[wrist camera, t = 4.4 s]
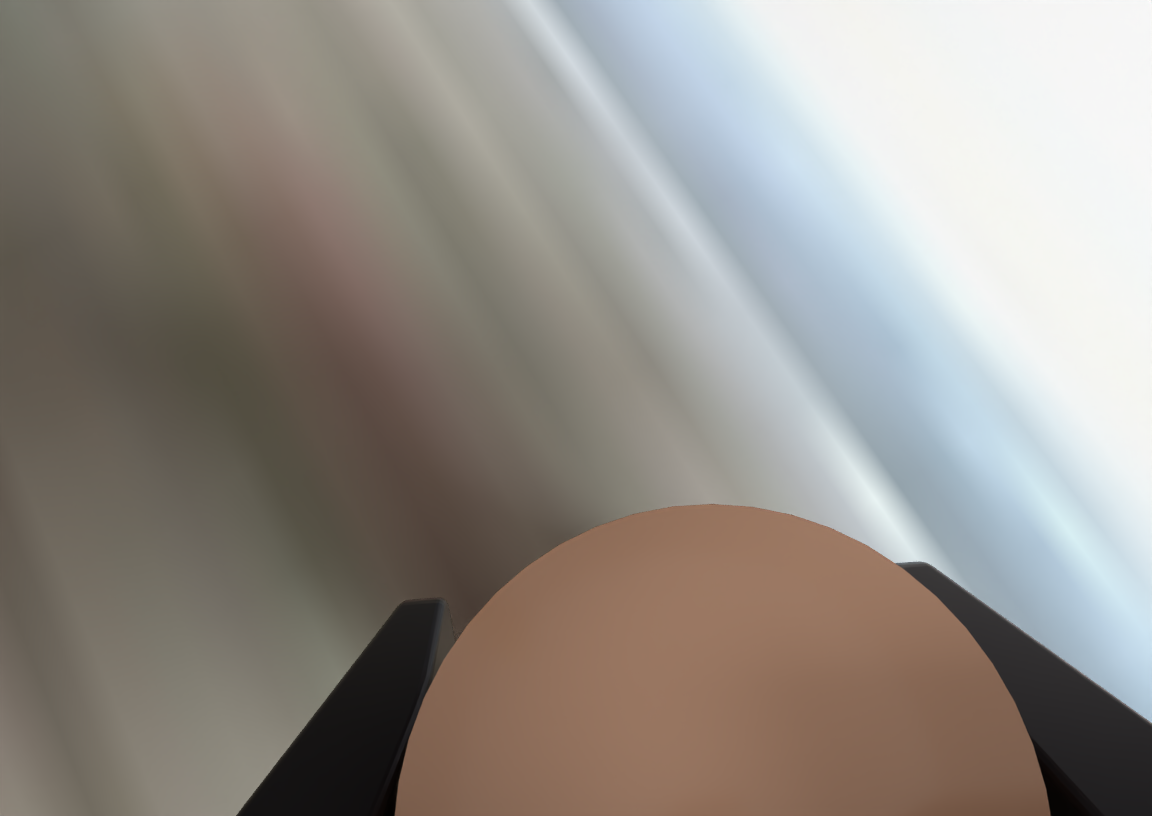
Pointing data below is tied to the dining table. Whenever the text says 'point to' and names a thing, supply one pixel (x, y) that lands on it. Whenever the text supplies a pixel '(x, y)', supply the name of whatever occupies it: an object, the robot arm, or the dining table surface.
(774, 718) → the jar
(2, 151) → the dining table surface
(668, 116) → the dining table surface
